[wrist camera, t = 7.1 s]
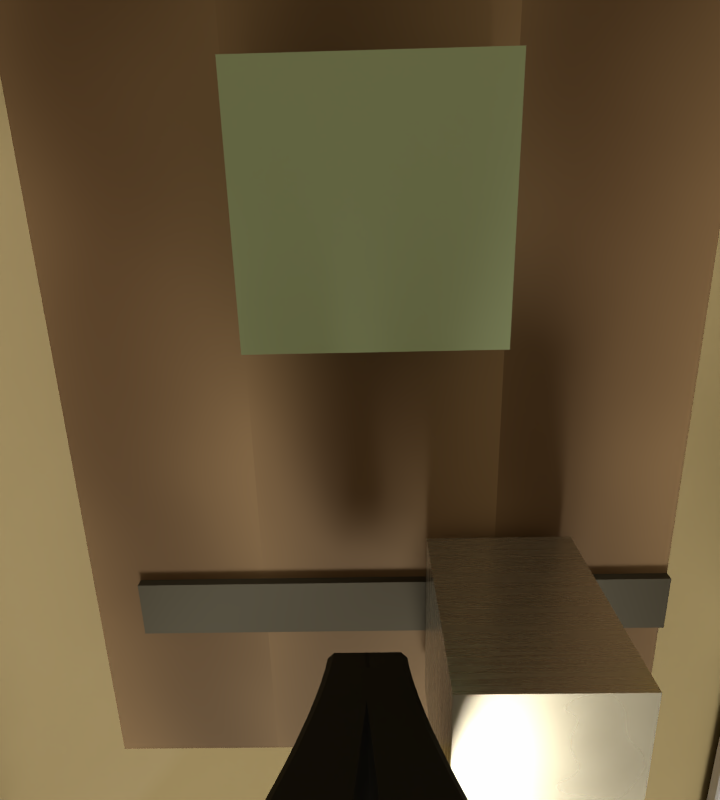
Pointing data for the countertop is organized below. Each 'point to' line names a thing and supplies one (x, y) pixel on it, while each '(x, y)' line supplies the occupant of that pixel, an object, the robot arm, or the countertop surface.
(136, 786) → the countertop surface
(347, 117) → the sage green cube
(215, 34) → the brown flat board
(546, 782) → the slider knob
